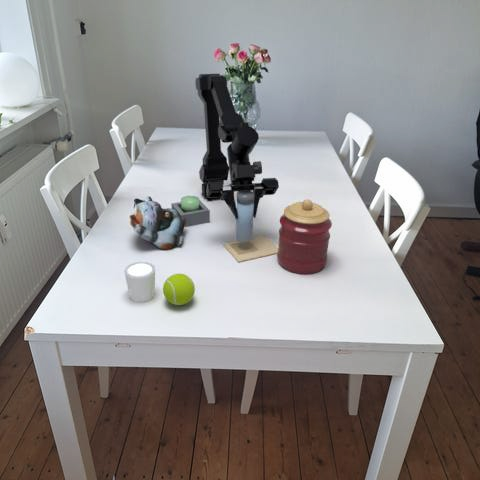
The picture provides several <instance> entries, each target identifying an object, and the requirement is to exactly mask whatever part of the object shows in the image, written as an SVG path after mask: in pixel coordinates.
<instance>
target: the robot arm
mask: <svg viewBox="0 0 480 480" xmlns="http://www.w3.org/2000/svg"><path fill="white" fill-rule="evenodd" d="M194 81H195V89H196V90H197V96H198V97H199V99H200V100H201V102H202V104H203V110H204V111H203V112H204V126H205V127H204V128H205V139H206V141H205V142H206V144H205V145H206V152H205V154H204V155H203V157H202V164H201V166H200V168H199V171H198V175H199V179H200V181H201V182H202V183H201V195H202V196H203V198H205V200H206V201H208V202H210V201H217V200H220V201H224V202H225V204H226V205H227V206H228V208H229V209H230V211H231V213H232V215H233V217H234V218H235V220H237V219H238V213H237V202H236V200H235V193H234V192H236V193H237V192H238V191H241V190H249V191H252V192H254V193H255V197H254V211H253V219H256V217H257V214H258V213H257V212H258V208H259V203H260V200H261V199H262V198H264V196H271V195H272V196H273V195H275V194H276V192H277V190H278V189H279V188H280V186H279V180H278V179H277V178H276V177H266V178H262V179H261V182H256V183H253V182H254V181H255V178H256V175H262V173H263V166H262V164H263V163H262V161H261V160H260V161H259V160H258V161H253V162H252V163H251V162H250V154H251V153H252V152H253V150H254V148H255V146H256V145H257V143H258V141H259V138H260V137H259V133H258V132H257V130H256V129H255V128H254V127H252V126H250V125H249V122H245V119H244V118H243V116H242V115H241V114H239V113H238V112H237V111H236V109H235V106H234V102H233V100H232V96H231V94H230V91H229V87H228V79H227V76H226V75H221V74H220V73H200V74H199V75H198V77H196V78H195V80H194ZM221 142H222V143H225V144H226V143H227V144H229V143H230V144H229V145H228V146H227V148H226V152H227V153H226V154H227V156H226V155H225V154H224V153H223V151H222V143H221ZM229 178H230V179H229ZM228 179H229V180H230V183H224V182H225V181H228Z"/></svg>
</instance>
